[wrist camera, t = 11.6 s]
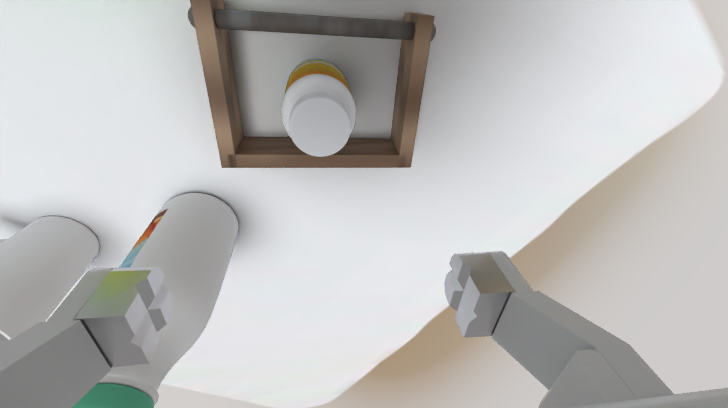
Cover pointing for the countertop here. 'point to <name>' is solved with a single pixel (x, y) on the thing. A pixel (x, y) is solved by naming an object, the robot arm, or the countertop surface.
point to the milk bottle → (174, 291)
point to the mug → (41, 270)
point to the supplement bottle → (318, 108)
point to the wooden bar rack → (413, 31)
